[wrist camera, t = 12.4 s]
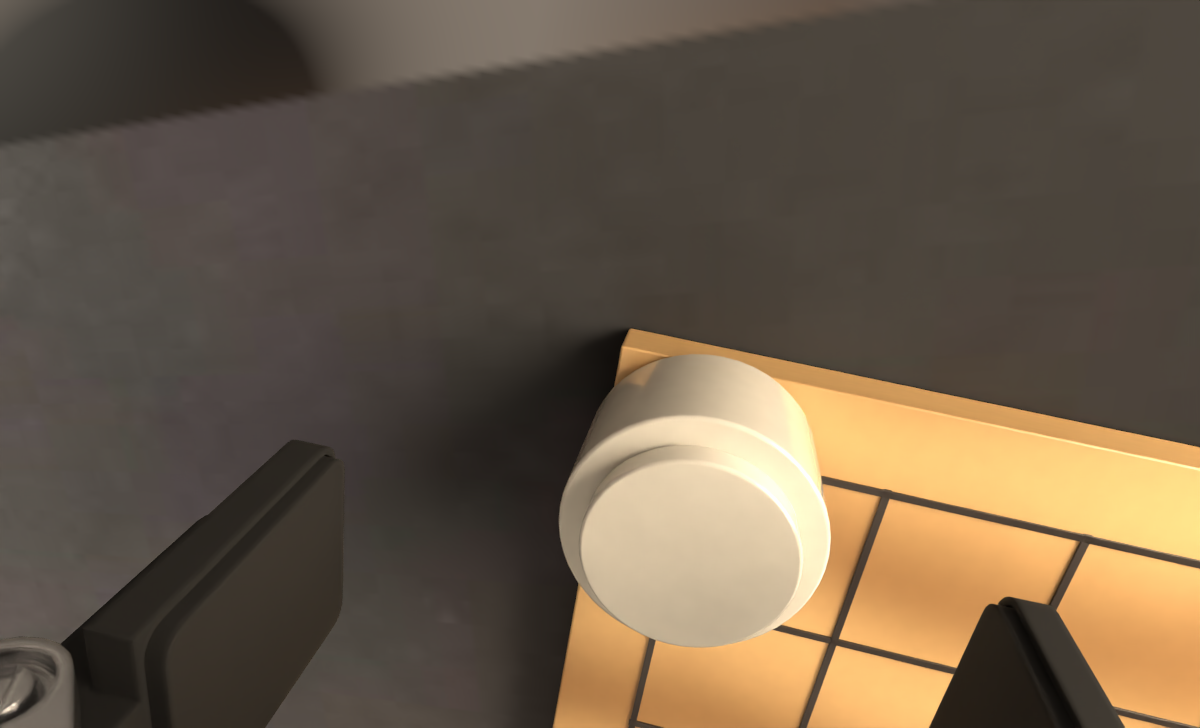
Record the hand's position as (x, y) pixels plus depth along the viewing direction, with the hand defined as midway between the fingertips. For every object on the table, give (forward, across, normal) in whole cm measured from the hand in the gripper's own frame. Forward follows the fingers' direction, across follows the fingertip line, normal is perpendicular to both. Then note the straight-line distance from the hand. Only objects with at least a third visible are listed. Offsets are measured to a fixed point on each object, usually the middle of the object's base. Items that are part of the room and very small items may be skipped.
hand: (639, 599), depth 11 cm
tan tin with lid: (+6, -1, +1) cm, 6 cm away
